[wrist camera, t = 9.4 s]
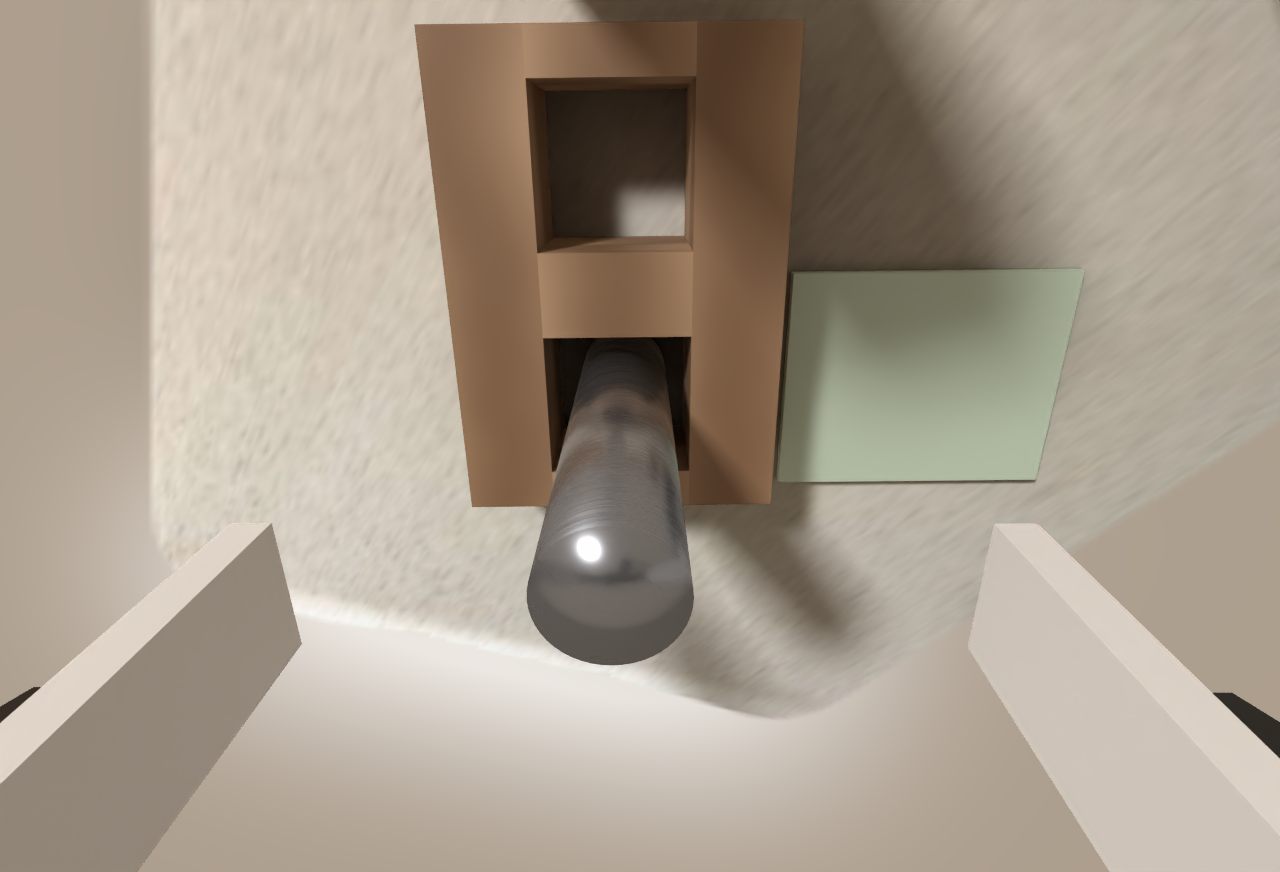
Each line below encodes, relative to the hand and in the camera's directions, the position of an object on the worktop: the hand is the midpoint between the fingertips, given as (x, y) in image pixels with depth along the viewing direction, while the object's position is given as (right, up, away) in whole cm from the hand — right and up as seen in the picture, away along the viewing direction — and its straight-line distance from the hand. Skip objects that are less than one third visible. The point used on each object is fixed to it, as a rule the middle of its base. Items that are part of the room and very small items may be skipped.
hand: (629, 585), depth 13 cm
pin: (0, +5, +12) cm, 14 cm away
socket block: (0, +8, +11) cm, 14 cm away
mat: (+11, +5, +13) cm, 17 cm away
